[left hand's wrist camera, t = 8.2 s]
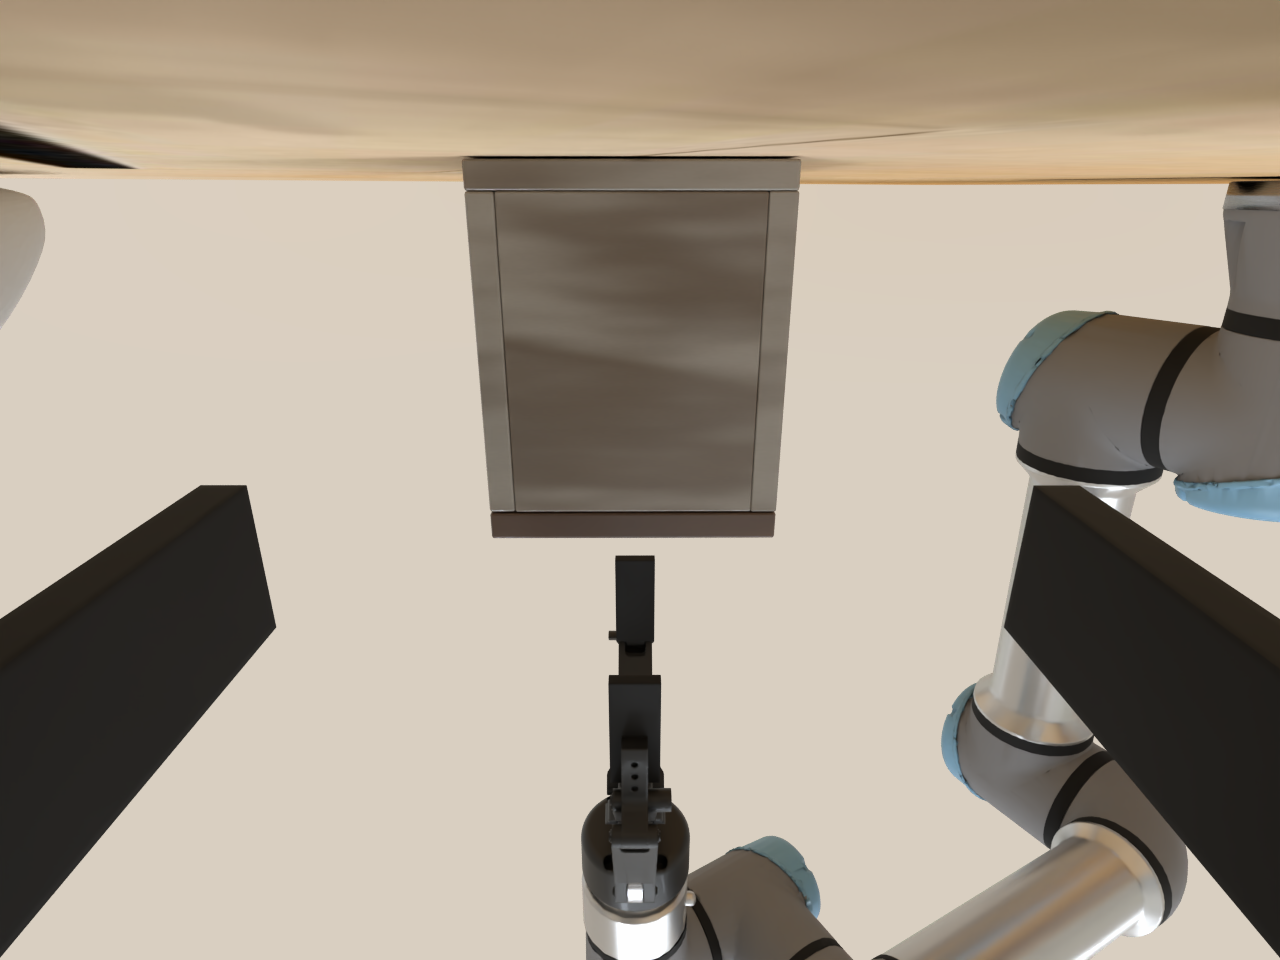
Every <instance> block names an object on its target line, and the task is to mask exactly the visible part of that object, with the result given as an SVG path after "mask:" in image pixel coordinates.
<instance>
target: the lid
mask: <svg viewBox="0 0 1280 960" xmlns="http://www.w3.org/2000/svg"><path fill="white" fill-rule="evenodd" d="M774 525H775V513H774V511H751V510H750V511H536V512H517V511H516V510H515V511H492V513H491V527H492V536H493V538H682V537H683V538H684V537H685V538H686V537H687V538H690V537H773V536H774Z"/></svg>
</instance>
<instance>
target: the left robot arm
mask: <svg viewBox="0 0 1280 960" xmlns="http://www.w3.org/2000/svg"><path fill="white" fill-rule="evenodd" d="M275 628H276V624H275V619H274V614H273V609H272V605H271V600H270V595H269V590H268V586H267V581H266V576H265V571H264V567H263V562H262V557H261V552H260V547H259V543H258V538H257V533H256V528H255V524H254V519H253V514H252V509H251V505H250V500H249V495H248V490H247V486H246V485H200V486H199V487H198V488H196V489H194V490H193V491H191V492H190V493H188V494H187V495H185V496H184V497H183V498H181V499H179V500H178V501H176V502H175V503H173V504H172V505H170V506H169V507H167V508H166V509H164V510H163V511H161V512H160V513H158V514H157V515H155V516H154V517H152V518H151V519H149V520H148V521H146V522H145V523H143V524H142V525H140V526H139V527H138V528H136V529H134V530H133V531H131V532H130V533H128V534H127V535H125V536H124V537H122V538H121V539H119V540H118V541H116V542H115V543H113V544H112V545H111V546H109V547H107V548H106V549H104V550H103V551H101V552H100V553H98V554H97V555H95V556H94V557H93V558H91V559H89V560H88V561H87V562H85V563H83V564H82V565H80V566H79V567H78V568H76V569H75V570H73V571H71V572H70V573H69V574H67V575H66V576H64V577H62V578H61V579H59V580H58V581H57V582H55V583H54V584H52V585H51V586H49V587H48V588H46V589H45V590H43V591H42V592H40V593H39V594H37V595H36V596H34V597H33V598H31V599H30V600H28V601H27V602H25V603H24V604H22V605H21V606H19V607H18V608H16V609H15V610H13V611H12V612H10V613H9V614H7V615H6V616H4V617H3V618H1V619H0V957H1V956H2V955H3V954H4V952H5V951H6V950H7V949H8V948H9V946H10V945H11V944H12V943H13V942H14V940H15V939H16V938H17V937H18V936H19V934H20V933H21V932H22V931H23V930H24V928H25V927H26V926H27V925H28V924H29V922H30V921H31V920H32V919H33V918H34V916H35V915H36V914H37V913H38V912H39V910H40V909H41V908H42V907H43V906H44V905H45V903H46V902H47V901H48V900H49V899H50V897H51V896H52V895H53V894H54V893H55V891H56V890H57V889H58V888H59V887H60V885H61V884H62V883H63V882H64V881H65V879H66V878H67V877H68V876H69V875H70V873H71V872H72V871H73V870H74V869H75V867H76V866H77V865H78V864H79V863H80V861H81V860H82V859H83V858H84V857H85V855H86V854H87V853H88V852H89V851H90V849H91V848H92V847H93V846H94V845H95V844H96V842H97V841H98V840H99V839H100V838H101V836H102V835H103V834H104V833H105V832H106V830H107V829H108V828H109V827H110V826H111V824H112V823H113V822H114V821H115V820H116V818H117V817H118V816H119V815H120V814H121V812H122V811H123V810H124V809H125V808H126V806H127V805H128V804H129V803H130V802H131V800H132V799H133V798H134V797H135V796H136V794H137V793H138V792H139V791H140V790H141V788H142V787H143V786H144V785H145V784H146V782H147V781H148V780H149V779H150V778H151V777H152V775H153V774H154V773H155V772H156V770H157V769H158V768H159V767H160V766H161V765H162V763H163V762H164V761H165V760H166V759H167V757H168V756H169V755H170V754H171V753H172V751H173V750H174V749H175V748H176V747H177V745H178V744H179V743H180V742H181V741H182V739H183V738H184V737H185V736H186V735H187V733H188V732H189V731H190V730H191V729H192V727H193V726H194V725H195V724H196V723H197V721H198V720H199V719H200V718H201V717H202V715H203V714H204V713H205V712H206V711H207V710H208V708H209V707H210V706H211V705H212V703H213V702H214V701H215V700H216V699H217V698H218V696H219V695H220V694H221V693H222V691H223V690H224V689H225V688H226V687H227V686H228V684H229V683H230V682H231V681H232V680H233V678H234V677H235V676H236V675H237V674H238V672H239V671H240V670H241V669H242V668H243V666H244V665H245V664H246V663H247V662H248V660H249V659H250V658H251V657H252V656H253V654H254V653H255V652H256V651H257V650H258V648H259V647H260V646H261V645H262V644H263V643H264V641H265V640H266V639H267V638H268V636H269V635H270V634H271V633H272V632H273V630H274V629H275ZM1004 628H1005V629H1006V631H1007V632H1008V633H1009V634H1010V635H1011V637H1012V638H1013V639H1014V640H1015V641H1016V643H1017V644H1018V645H1019V646H1020V647H1021V649H1022V650H1023V651H1024V652H1025V653H1026V654H1027V656H1028V657H1029V658H1030V659H1031V660H1032V662H1033V663H1034V664H1035V665H1036V666H1037V668H1038V669H1039V670H1040V671H1041V672H1042V674H1043V675H1044V676H1045V677H1046V678H1047V680H1048V681H1049V682H1050V683H1051V684H1052V686H1053V687H1054V688H1055V689H1056V690H1057V692H1058V693H1059V694H1060V695H1061V696H1062V698H1063V699H1064V700H1065V701H1066V702H1067V704H1068V705H1069V706H1070V707H1071V708H1072V710H1073V711H1074V712H1075V713H1076V714H1077V716H1078V717H1079V718H1080V719H1081V720H1082V721H1083V723H1084V724H1085V725H1086V726H1087V727H1088V729H1089V730H1090V731H1091V732H1092V733H1093V735H1094V736H1095V737H1096V738H1097V739H1098V741H1099V742H1100V743H1101V744H1102V745H1103V747H1104V748H1105V749H1106V750H1107V751H1108V753H1109V754H1110V755H1111V756H1112V757H1113V759H1114V760H1115V761H1116V762H1117V763H1118V765H1119V766H1120V767H1121V768H1122V769H1123V771H1124V772H1125V773H1126V774H1127V775H1128V777H1129V778H1130V779H1131V780H1132V781H1133V782H1134V784H1135V785H1136V786H1137V787H1138V788H1139V790H1140V791H1141V792H1142V793H1143V794H1144V796H1145V797H1146V798H1147V799H1148V800H1149V802H1150V803H1151V804H1152V805H1153V806H1154V808H1155V809H1156V810H1157V811H1158V812H1159V814H1160V815H1161V816H1162V817H1163V818H1164V820H1165V821H1166V822H1167V823H1168V824H1169V826H1170V827H1171V828H1172V829H1173V830H1174V832H1175V833H1176V834H1177V835H1178V836H1179V838H1180V839H1181V840H1182V841H1183V842H1184V844H1185V845H1186V846H1187V847H1188V848H1189V849H1190V851H1191V852H1192V853H1193V854H1194V855H1195V857H1196V858H1197V859H1198V860H1199V861H1200V863H1201V864H1202V865H1203V866H1204V867H1205V869H1206V870H1207V871H1208V872H1209V873H1210V875H1211V876H1212V877H1213V878H1214V879H1215V881H1216V882H1217V883H1218V884H1219V885H1220V887H1221V888H1222V889H1223V890H1224V891H1225V892H1226V894H1227V895H1228V896H1229V897H1230V898H1231V900H1232V901H1233V902H1234V903H1235V904H1236V906H1237V907H1238V908H1239V909H1240V910H1241V912H1242V913H1243V914H1244V915H1245V916H1246V918H1247V919H1248V920H1249V921H1250V922H1251V924H1252V925H1253V926H1254V927H1255V928H1256V930H1257V931H1258V932H1259V933H1260V934H1261V936H1262V937H1263V938H1264V939H1265V940H1266V942H1267V943H1268V944H1269V945H1270V946H1271V948H1272V949H1273V950H1274V951H1275V952H1276V954H1277V955H1278V956H1279V957H1280V619H1279V618H1277V617H1276V616H1274V615H1273V614H1271V613H1270V612H1268V611H1267V610H1265V609H1264V608H1262V607H1261V606H1259V605H1258V604H1256V603H1255V602H1253V601H1252V600H1250V599H1249V598H1247V597H1246V596H1244V595H1243V594H1241V593H1240V592H1238V591H1237V590H1235V589H1234V588H1232V587H1231V586H1229V585H1228V584H1226V583H1225V582H1223V581H1222V580H1221V579H1219V578H1218V577H1216V576H1215V575H1213V574H1211V573H1210V572H1209V571H1207V570H1206V569H1204V568H1203V567H1201V566H1200V565H1198V564H1196V563H1195V562H1194V561H1192V560H1191V559H1189V558H1187V557H1186V556H1185V555H1183V554H1181V553H1180V552H1179V551H1177V550H1176V549H1174V548H1173V547H1171V546H1170V545H1168V544H1166V543H1165V542H1164V541H1162V540H1161V539H1159V538H1158V537H1156V536H1155V535H1153V534H1152V533H1150V532H1148V531H1147V530H1146V529H1144V528H1143V527H1141V526H1140V525H1138V524H1137V523H1135V522H1134V521H1132V520H1131V519H1129V518H1128V517H1126V516H1125V515H1123V514H1122V513H1120V512H1119V511H1117V510H1116V509H1114V508H1113V507H1111V506H1110V505H1108V504H1107V503H1105V502H1104V501H1102V500H1101V499H1099V498H1098V497H1096V496H1095V495H1093V494H1092V493H1090V492H1089V491H1087V490H1086V489H1084V488H1083V487H1081V486H1080V485H1033V490H1032V495H1031V500H1030V504H1029V509H1028V514H1027V519H1026V524H1025V528H1024V533H1023V538H1022V543H1021V547H1020V552H1019V557H1018V562H1017V567H1016V571H1015V576H1014V581H1013V586H1012V590H1011V595H1010V600H1009V605H1008V609H1007V614H1006V619H1005V624H1004Z"/></svg>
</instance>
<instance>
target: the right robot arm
mask: <svg viewBox="0 0 1280 960" xmlns="http://www.w3.org/2000/svg"><path fill="white" fill-rule="evenodd" d="M1223 209H1224V211H1223V218H1224V227H1225V239H1226V249H1227V259H1228V269H1229V280H1230V297H1229V302H1228V306H1227V309H1226V313H1225V316H1224V320H1223V323H1222V326H1221V328H1215V327H1209V326H1202V325H1194V324H1186V323H1178V322H1171V321H1163V320H1155V319H1147V318H1139V317H1131V316H1124V315H1119V314H1117V313H1116V312H1112V311H1104V312H1087V311H1063V312H1059V313H1056V314H1054V315H1051V316H1049V317H1047V318H1046V319H1044V320H1043V321H1041V322H1040V323H1038V324H1037V325H1036V326H1035V327H1034V328H1032V329H1031V330H1030V331H1029V332H1028V334H1027V335H1026V336H1025V338H1024V339H1023V340H1022V341H1021V342H1020V343H1019V344H1018V345H1017V347H1016V348H1015V350H1014V351H1013V353H1012V355H1011V356H1010V358H1009V360H1008V362H1007V364H1006V366H1005V368H1004V370H1003V373H1002V376H1001V379H1000V382H999V386H998V390H997V399H996V404H997V411H998V413H1000V418H1001V420H1002V421H1003V422H1004V423H1005V424H1006V425H1008V426H1009V427H1010V428H1012V429H1013V430H1017V431H1018V430H1020V432H1019V438H1018V444H1017V450H1016V459H1017V461H1018V462H1019V463H1020V464H1021V466H1022V467H1023V468H1024V469H1025V470H1026V471H1027V472H1028V474H1029V475H1030V478H1029V483H1028V488H1027V494H1026V499H1025V505H1024V510H1023V515H1022V521H1021V526H1020V531H1019V537H1018V542H1017V547H1016V553H1015V558H1014V563H1013V569H1012V574H1011V579H1010V585H1009V590H1008V595H1007V601H1006V606H1005V612H1004V617H1003V622H1002V628H1001V633H1000V638H999V644H998V649H997V654H996V660H995V665H994V670H993V673H991V674H988V675H986V676H984V677H983V678H981V679H980V680H979V681H978V682H977V683H975V684H973V685H971V686H969V687H968V688H967V689H965V690H964V691H963V692H962V693H961V694H960V695H959V696H958V698H957V699H956V700H955V702H954V704H953V705H952V708H953V710H952V713H951V714H948V715H947V717H946V720H945V723H944V727H943V731H942V739H941V747H942V754H943V758H944V761H945V764H946V766H947V767H948V769H949V770H950V772H951V773H952V774H953V775H954V776H955V777H956V778H957V779H958V780H960V781H961V782H962V783H963V784H964V785H966V787H967V788H968V789H969V790H970V791H971V792H972V793H973V794H974V795H975V796H977V797H978V798H980V799H982V800H985V801H987V802H989V803H990V804H991V805H993V806H994V807H995V808H996V809H998V810H999V811H1000V812H1002V813H1003V814H1004V815H1006V816H1007V817H1008V818H1010V819H1011V820H1012V821H1014V822H1015V823H1016V824H1018V825H1019V826H1020V827H1021V828H1023V829H1024V830H1025V831H1027V832H1028V833H1029V834H1031V835H1032V836H1033V837H1035V838H1036V839H1037V840H1039V841H1040V842H1041V843H1043V844H1044V845H1045V846H1046V847H1048V848H1049V849H1051V850H1049V851H1048V852H1046V853H1045V854H1043V855H1041V856H1040V857H1038V858H1036V859H1035V860H1033V861H1032V862H1030V863H1029V864H1027V865H1025V866H1024V867H1022V868H1020V869H1019V870H1017V871H1016V872H1014V873H1012V874H1011V875H1009V876H1007V877H1006V878H1004V879H1003V880H1001V881H999V882H998V883H996V884H995V885H993V886H991V887H990V888H988V889H986V890H985V891H983V892H982V893H980V894H978V895H977V896H975V897H974V898H972V899H970V900H969V901H967V902H965V903H964V904H962V905H961V906H959V907H957V908H956V909H954V910H953V911H951V912H949V913H948V914H946V915H944V916H943V917H941V918H940V919H938V920H936V921H935V922H933V923H932V924H930V925H928V926H927V927H925V928H924V929H922V930H920V931H919V932H917V933H915V934H914V935H912V936H911V937H909V938H907V939H906V940H904V941H903V942H901V943H899V944H898V945H896V946H895V947H893V948H891V949H890V950H888V951H886V952H885V953H883V954H881V955H879V956H877V957H875V958H873V959H872V960H1090V959H1091V958H1092V957H1093V956H1095V955H1096V954H1097V953H1099V952H1100V951H1101V950H1102V949H1104V948H1105V947H1106V946H1108V945H1109V944H1110V943H1112V942H1113V941H1114V940H1115V939H1117V938H1118V937H1119V936H1121V935H1123V936H1127V937H1138V936H1143V935H1147V934H1148V933H1150V932H1152V931H1153V930H1155V929H1156V928H1157V927H1158V926H1160V925H1161V924H1162V923H1163V922H1164V921H1166V920H1167V919H1168V918H1169V917H1170V916H1171V915H1172V914H1173V912H1174V911H1175V910H1176V908H1177V907H1178V905H1179V903H1180V902H1181V899H1182V896H1183V893H1184V890H1185V887H1186V883H1187V873H1188V859H1187V851H1186V846H1185V844H1184V842H1183V841H1182V840H1181V839H1180V838H1179V836H1178V835H1177V834H1176V833H1175V832H1174V830H1173V829H1172V828H1171V827H1170V826H1169V824H1168V823H1167V822H1166V821H1165V820H1164V818H1163V817H1162V816H1161V815H1160V814H1159V812H1158V811H1157V810H1156V809H1155V808H1154V806H1153V805H1152V804H1151V803H1150V802H1149V800H1148V799H1147V798H1146V797H1145V796H1144V794H1143V793H1142V792H1141V791H1140V790H1139V788H1138V787H1137V786H1136V785H1135V784H1134V782H1133V781H1132V780H1131V779H1130V778H1129V777H1128V775H1127V774H1126V773H1125V772H1124V771H1123V769H1122V768H1121V767H1120V766H1119V765H1118V763H1117V762H1116V761H1115V760H1114V759H1113V757H1112V756H1111V755H1110V754H1109V753H1108V751H1106V750H1105V749H1103V748H1101V747H1100V746H1098V745H1096V744H1095V743H1093V738H1094V735H1093V733H1092V732H1091V731H1090V730H1089V729H1088V727H1087V726H1086V725H1085V724H1084V723H1083V721H1082V720H1081V719H1080V718H1079V717H1078V716H1077V714H1076V713H1075V712H1074V711H1073V710H1072V708H1071V707H1070V706H1069V705H1068V704H1067V702H1066V701H1065V700H1064V699H1063V698H1062V696H1061V695H1060V694H1059V693H1058V692H1057V690H1056V689H1055V688H1054V687H1053V686H1052V684H1051V683H1050V682H1049V681H1048V680H1047V678H1046V677H1045V676H1044V675H1043V674H1042V672H1041V671H1040V670H1039V669H1038V668H1037V666H1036V665H1035V664H1034V663H1033V662H1032V660H1031V659H1030V658H1029V657H1028V656H1027V654H1026V653H1025V652H1024V651H1023V650H1022V649H1021V647H1020V646H1019V645H1018V644H1017V643H1016V641H1015V640H1014V639H1013V638H1012V637H1011V635H1010V634H1009V633H1008V632H1007V631H1006V629H1005V628H1004V624H1005V619H1006V614H1007V609H1008V605H1009V600H1010V595H1011V590H1012V586H1013V581H1014V576H1015V571H1016V567H1017V562H1018V557H1019V552H1020V547H1021V543H1022V538H1023V533H1024V528H1025V524H1026V519H1027V514H1028V509H1029V504H1030V500H1031V495H1032V490H1033V485H1080V486H1081V487H1083V488H1084V489H1086V490H1087V491H1089V492H1090V493H1092V494H1093V495H1095V496H1096V497H1098V498H1099V499H1101V500H1102V501H1104V502H1105V503H1107V504H1108V505H1110V506H1111V507H1113V508H1114V509H1116V510H1117V511H1119V512H1120V513H1122V514H1123V515H1125V516H1126V517H1128V518H1129V519H1130V516H1131V512H1132V508H1133V504H1134V499H1135V495H1136V493H1137V492H1139V491H1141V490H1143V489H1145V488H1147V487H1149V486H1151V485H1153V484H1155V483H1156V482H1158V481H1159V480H1160V479H1161V476H1162V473H1163V469H1164V470H1167V471H1171V472H1174V473H1176V474H1177V475H1178V476H1177V477H1176V478H1175V480H1174V485H1175V491H1176V494H1177V496H1178V497H1179V498H1181V499H1182V500H1184V501H1187V502H1188V503H1189V504H1191V505H1193V506H1195V507H1198V508H1201V509H1204V510H1207V511H1211V512H1215V513H1219V514H1224V515H1229V516H1234V517H1240V518H1246V519H1253V520H1262V521H1272V522H1280V181H1237V182H1231V183H1229V187H1228V190H1227V194H1226V198H1225V202H1224V205H1223ZM615 573H616V631H609V640H616V641H617V643H618V644H619V675H609V736H610V769H609V771H608V773H607V795H610V796H609V797H607V798H606V799H604V800H602V801H601V802H600V803H598V804H597V805H596V806H595V807H594V808H593V809H592V810H591V811H590V813H589V814H588V816H587V818H586V820H585V822H584V825H583V828H582V834H581V843H582V869H583V875H582V891H583V916H584V924H585V929H586V960H853V959H852V958H851V957H850V956H849V955H848V954H847V953H846V952H845V951H844V949H843V948H842V947H841V946H840V945H839V944H838V943H837V941H836V940H835V939H834V938H833V937H832V936H831V935H830V933H829V932H828V931H827V930H826V929H825V928H824V927H823V925H822V924H821V923H820V922H819V921H818V920H817V917H818V915H819V912H820V894H819V889H818V886H817V883H816V880H815V878H814V875H813V873H812V872H811V871H810V870H808V868H807V867H806V865H805V862H804V858H803V856H802V855H801V854H800V853H799V852H798V851H797V850H796V848H795V847H793V846H792V845H791V844H790V843H789V842H787V841H786V840H784V839H782V838H779V837H776V836H766V837H763V838H761V839H759V840H756V841H754V842H752V843H750V844H747V845H745V846H743V847H737V848H735V849H732V850H730V851H729V852H727V853H726V854H725V855H723V856H722V857H720V858H718V859H716V860H714V861H712V862H711V863H709V864H707V865H705V866H703V867H701V868H699V869H698V870H696V871H694V872H692V873H690V874H688V870H689V843H690V833H689V828H688V824H687V821H686V819H685V817H684V815H683V814H682V812H681V811H680V810H679V809H678V808H677V807H676V806H675V805H674V804H673V803H672V802H671V788H664V773H663V771H662V769H661V767H660V728H661V727H660V726H661V675H652V643H653V642H654V583H655V557H654V556H616V558H615Z"/></svg>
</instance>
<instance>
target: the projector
mask: <svg viewBox="0 0 1280 960" xmlns="http://www.w3.org/2000/svg"><path fill="white" fill-rule="evenodd" d="M44 241H45V226H44V220H43V217H42V214H41V211H40V209H39V207H38V205H37V203H36V202H35V200H34V199H33V198H31V197H30V196H28V195H25V194H23V193H20V192H16V191H12V190H7V189H3V188H0V329H1V327H2V326H3V325H4V323H5V322H6V320H7V319H8V318H9V316H10V315H11V313H12V311H13V310H14V308H15V307H16V305H17V303H18V302H19V300H20V298H21V296H22V295H23V293H24V291H25V289H26V287H27V285H28V283H29V281H30V280H31V277H32V275H33V273H34V270H35V268H36V266H37V264H38V261H39V258H40V255H41V253H42V249H43V245H44Z"/></svg>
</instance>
